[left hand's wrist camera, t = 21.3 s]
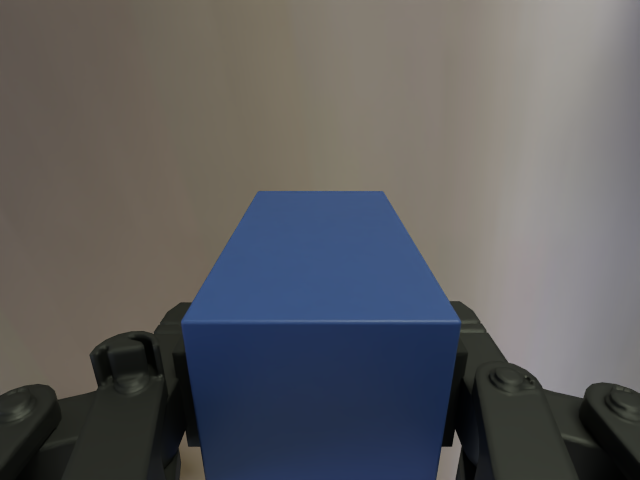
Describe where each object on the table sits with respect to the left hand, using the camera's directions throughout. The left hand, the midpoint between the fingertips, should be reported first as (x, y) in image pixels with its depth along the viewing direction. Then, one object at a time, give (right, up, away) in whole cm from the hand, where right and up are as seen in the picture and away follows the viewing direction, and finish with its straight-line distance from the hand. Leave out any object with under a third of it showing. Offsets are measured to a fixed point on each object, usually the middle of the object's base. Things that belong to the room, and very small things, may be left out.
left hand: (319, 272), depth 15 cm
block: (0, 0, +1) cm, 1 cm away
